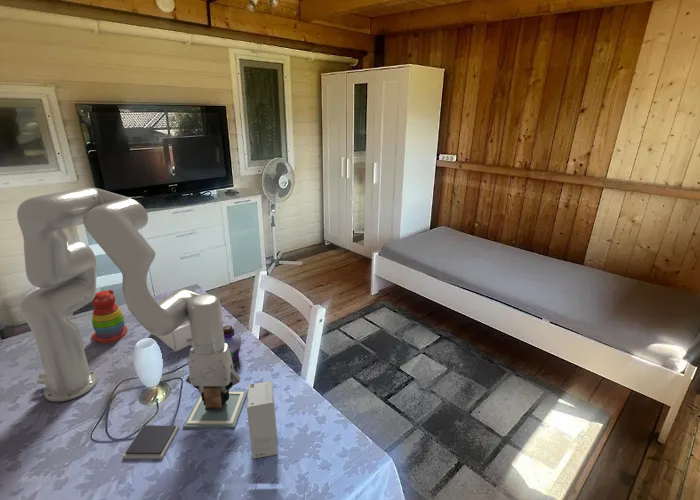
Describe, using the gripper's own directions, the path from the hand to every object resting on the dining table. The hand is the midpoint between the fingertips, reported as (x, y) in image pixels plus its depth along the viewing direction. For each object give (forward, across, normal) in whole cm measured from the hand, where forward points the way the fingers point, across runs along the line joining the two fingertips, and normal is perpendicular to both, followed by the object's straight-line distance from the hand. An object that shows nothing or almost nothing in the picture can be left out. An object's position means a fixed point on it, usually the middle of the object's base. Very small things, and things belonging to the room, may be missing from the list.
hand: (216, 401), depth 99 cm
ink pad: (+3, -12, -11) cm, 16 cm away
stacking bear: (+3, -49, +35) cm, 60 cm away
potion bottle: (+3, -3, +22) cm, 22 cm away
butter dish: (+3, -23, +38) cm, 44 cm away
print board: (+3, 0, 0) cm, 3 cm away
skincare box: (+3, +15, -11) cm, 19 cm away
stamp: (+1, 0, 0) cm, 1 cm away
